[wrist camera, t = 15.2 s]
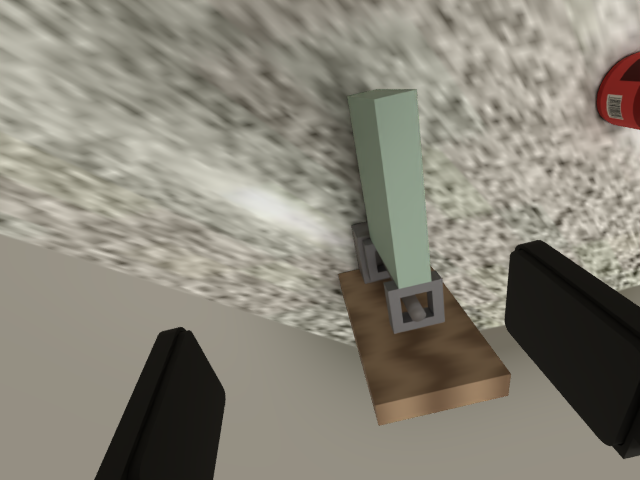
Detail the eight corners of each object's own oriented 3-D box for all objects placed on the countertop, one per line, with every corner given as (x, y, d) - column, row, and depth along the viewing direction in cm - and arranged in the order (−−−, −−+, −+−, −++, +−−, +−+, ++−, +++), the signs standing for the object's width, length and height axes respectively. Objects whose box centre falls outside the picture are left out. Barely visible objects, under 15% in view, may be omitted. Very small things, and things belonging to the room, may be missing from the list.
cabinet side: (419, 209, 42) (518, 313, 25) (423, 271, 47) (508, 395, 30) (328, 230, 42) (363, 349, 25) (341, 290, 47) (378, 425, 30)
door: (386, 87, 33) (430, 86, 23) (406, 266, 42) (444, 322, 32) (337, 98, 33) (360, 102, 23) (368, 275, 42) (394, 333, 32)
